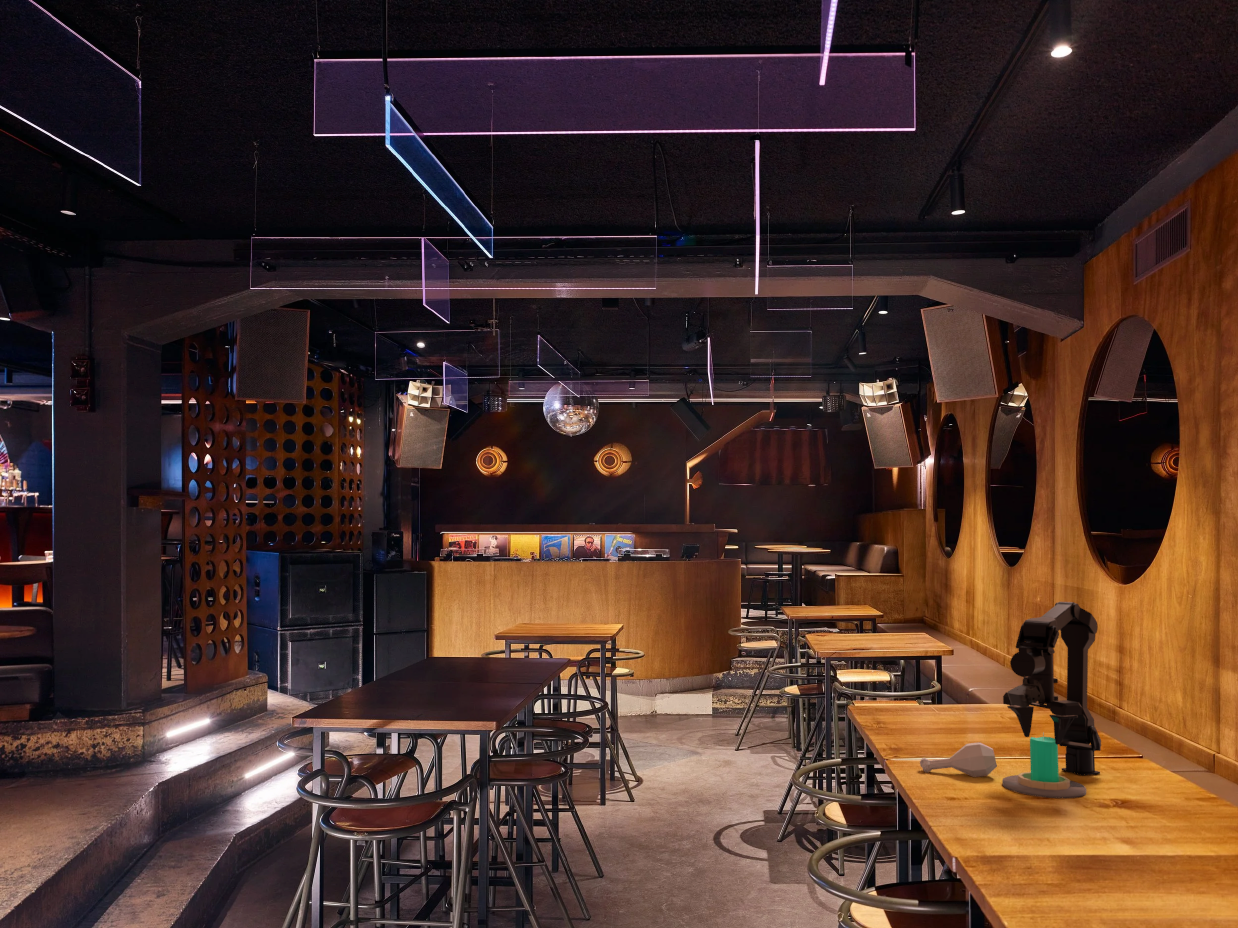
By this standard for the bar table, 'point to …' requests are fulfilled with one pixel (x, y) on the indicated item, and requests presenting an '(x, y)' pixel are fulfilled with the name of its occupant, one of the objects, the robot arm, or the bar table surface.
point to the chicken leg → (966, 760)
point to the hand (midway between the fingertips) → (1042, 740)
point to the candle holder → (1044, 787)
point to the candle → (1044, 759)
